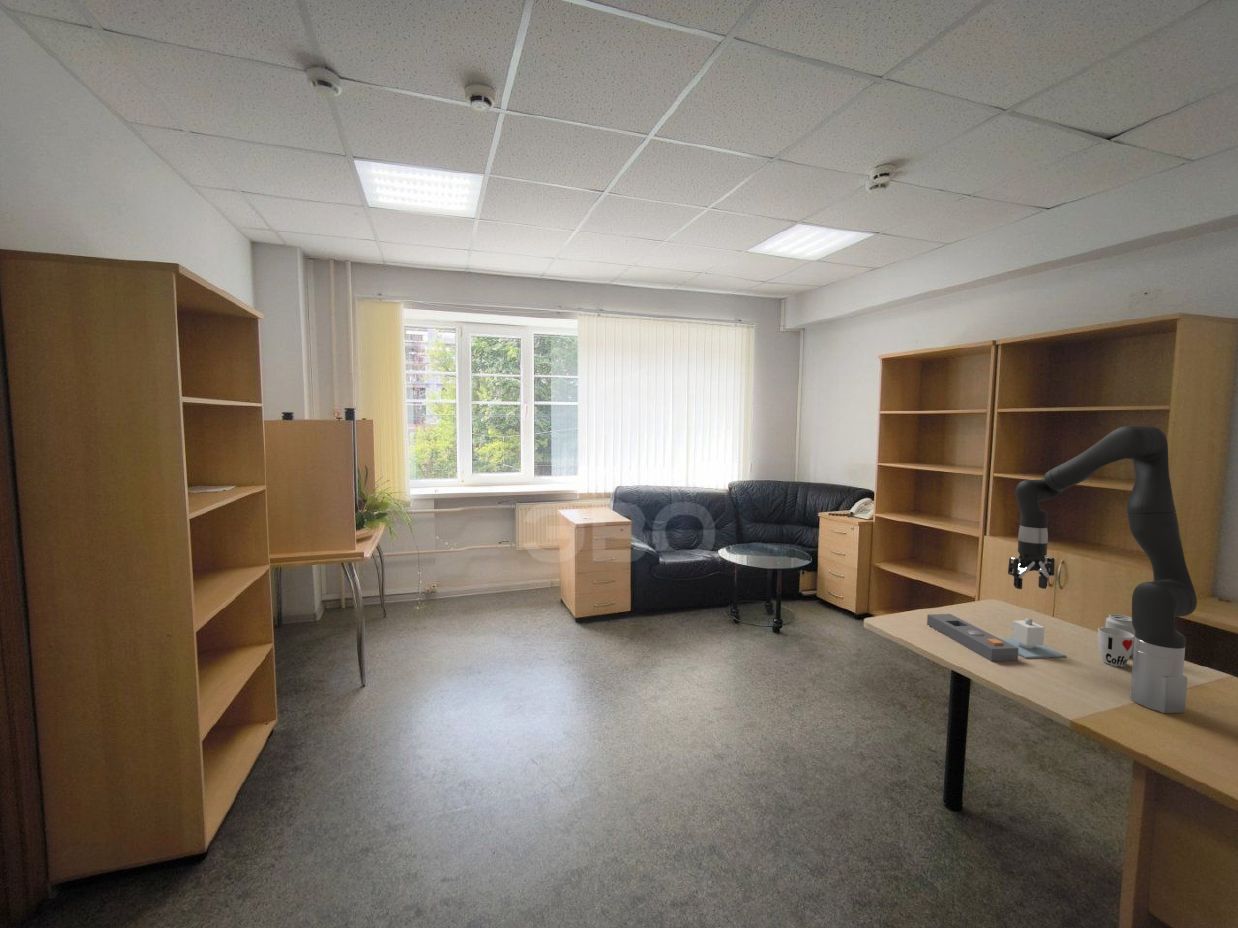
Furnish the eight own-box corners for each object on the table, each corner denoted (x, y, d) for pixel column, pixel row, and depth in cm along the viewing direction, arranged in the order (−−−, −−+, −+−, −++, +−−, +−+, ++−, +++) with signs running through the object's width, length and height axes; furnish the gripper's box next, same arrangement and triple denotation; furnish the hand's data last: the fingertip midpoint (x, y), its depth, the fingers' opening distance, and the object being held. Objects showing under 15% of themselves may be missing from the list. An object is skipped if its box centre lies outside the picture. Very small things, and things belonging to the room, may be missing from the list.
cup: (1101, 665, 159) (1103, 634, 158) (1092, 655, 166) (1094, 625, 165) (1136, 671, 155) (1138, 639, 155) (1125, 660, 162) (1127, 630, 162)
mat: (1065, 657, 165) (1066, 655, 165) (1025, 658, 164) (1025, 656, 164) (1028, 639, 179) (1028, 637, 179) (990, 640, 178) (990, 638, 178)
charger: (1042, 650, 168) (1044, 622, 168) (1025, 650, 168) (1028, 622, 167) (1027, 642, 174) (1029, 615, 173) (1011, 642, 174) (1013, 615, 173)
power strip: (1017, 660, 162) (1018, 645, 162) (991, 661, 162) (991, 646, 161) (949, 624, 192) (950, 611, 192) (927, 624, 192) (927, 612, 191)
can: (1121, 648, 172) (1124, 613, 171) (1142, 658, 164) (1145, 621, 164) (1097, 647, 173) (1100, 612, 172) (1116, 656, 165) (1119, 620, 164)
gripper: (1022, 542, 165) (1019, 592, 166) (1063, 542, 166) (1060, 591, 167) (1003, 538, 172) (1000, 585, 173) (1042, 537, 173) (1040, 584, 174)
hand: (1030, 588), depth 170 cm, fingers open, 8 cm apart
